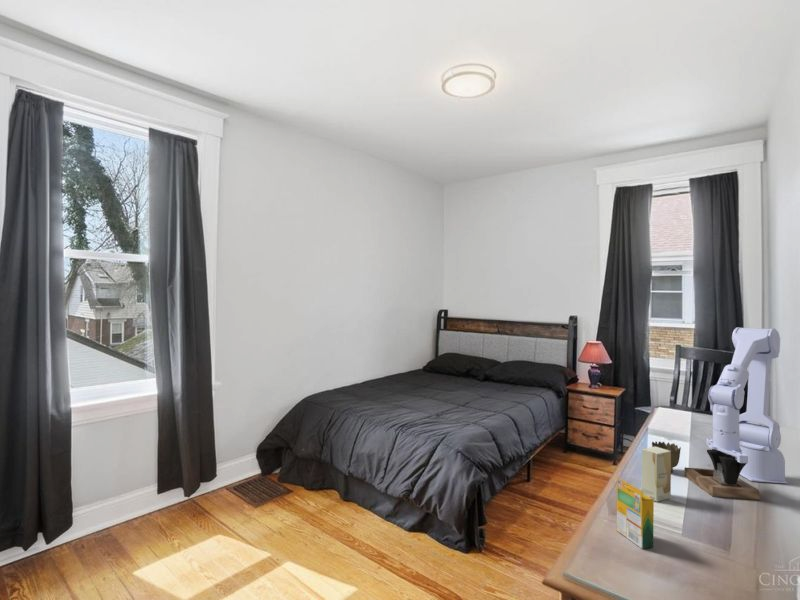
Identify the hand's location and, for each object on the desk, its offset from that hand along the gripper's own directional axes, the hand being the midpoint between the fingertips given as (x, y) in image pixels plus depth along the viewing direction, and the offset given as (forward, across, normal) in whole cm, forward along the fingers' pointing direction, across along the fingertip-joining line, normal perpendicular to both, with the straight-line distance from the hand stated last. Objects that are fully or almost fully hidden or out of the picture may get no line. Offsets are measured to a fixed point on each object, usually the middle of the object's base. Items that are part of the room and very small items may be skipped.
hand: (726, 480), depth 113 cm
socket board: (+3, -3, 0) cm, 4 cm away
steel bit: (+3, 0, 0) cm, 3 cm away
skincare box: (+3, +7, -20) cm, 22 cm away
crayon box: (+3, +30, -34) cm, 46 cm away
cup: (+3, -13, -9) cm, 16 cm away
